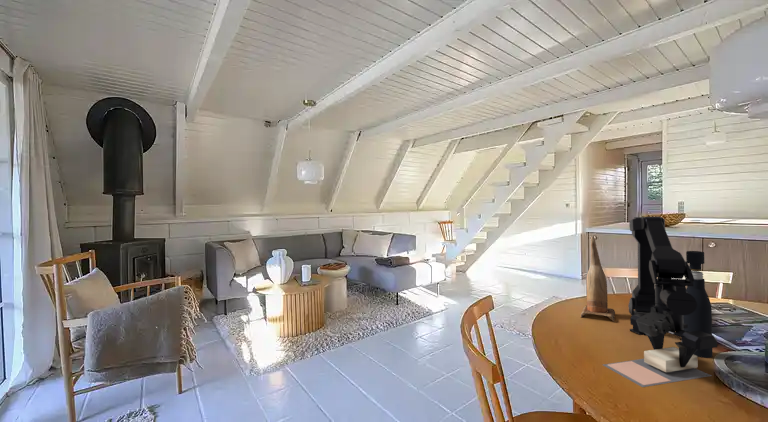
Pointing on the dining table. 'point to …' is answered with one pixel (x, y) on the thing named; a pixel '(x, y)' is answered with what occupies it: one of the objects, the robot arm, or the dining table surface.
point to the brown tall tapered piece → (597, 287)
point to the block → (668, 359)
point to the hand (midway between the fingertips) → (670, 361)
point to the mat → (652, 373)
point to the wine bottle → (699, 302)
